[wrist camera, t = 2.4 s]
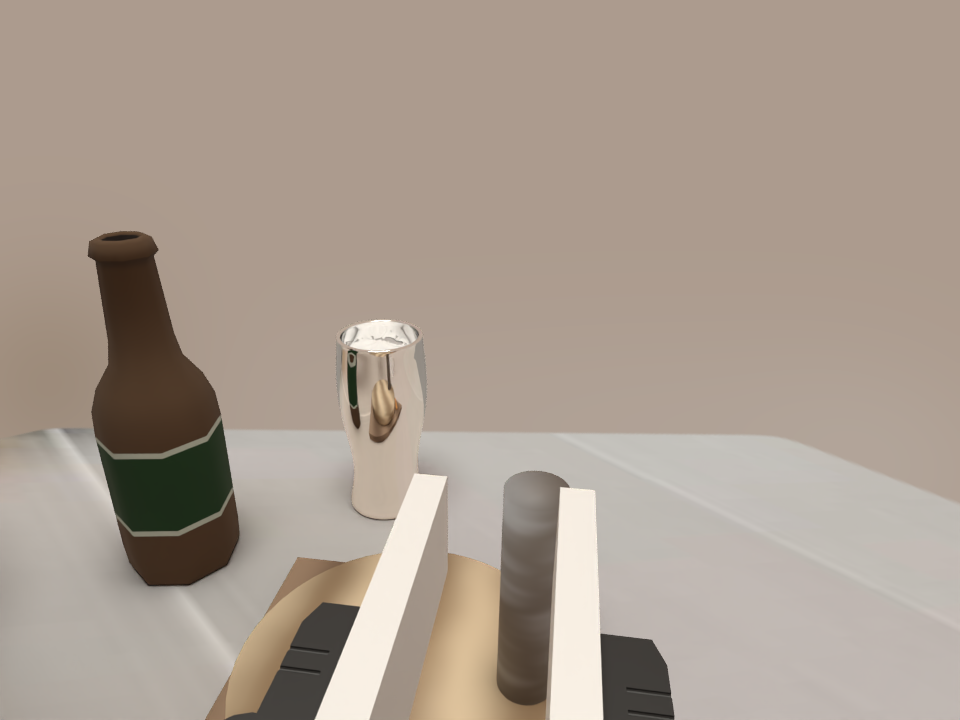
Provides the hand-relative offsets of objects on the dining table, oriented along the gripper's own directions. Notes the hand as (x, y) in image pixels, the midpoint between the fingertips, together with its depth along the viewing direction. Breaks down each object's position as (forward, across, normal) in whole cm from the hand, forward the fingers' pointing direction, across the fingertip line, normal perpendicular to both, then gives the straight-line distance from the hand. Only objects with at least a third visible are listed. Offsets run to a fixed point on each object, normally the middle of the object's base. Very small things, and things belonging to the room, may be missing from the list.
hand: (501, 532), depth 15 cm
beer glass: (+33, -12, -24) cm, 42 cm away
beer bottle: (+24, -26, -24) cm, 42 cm away
